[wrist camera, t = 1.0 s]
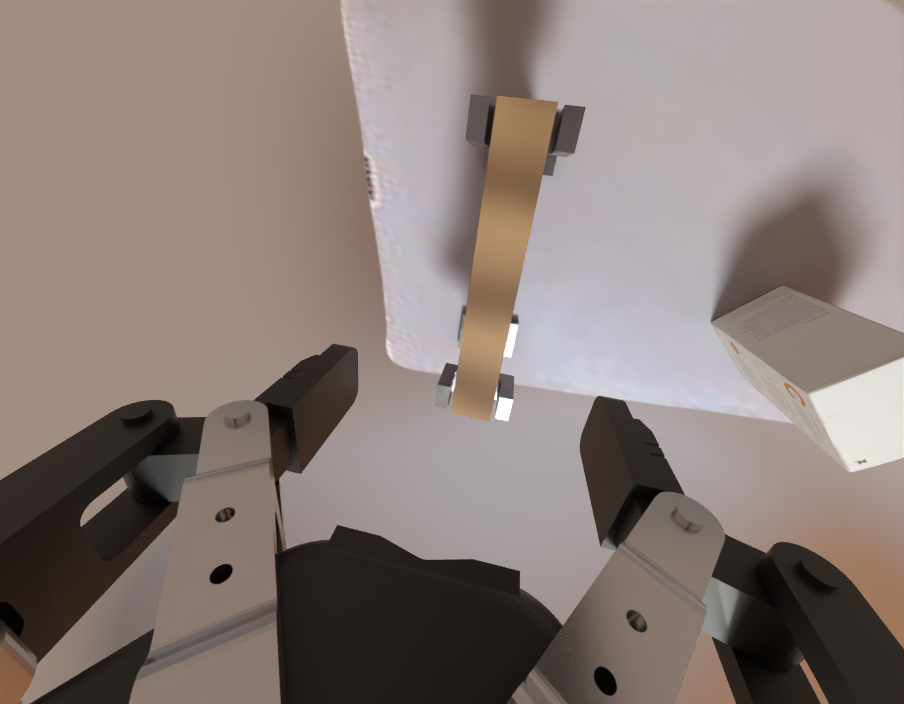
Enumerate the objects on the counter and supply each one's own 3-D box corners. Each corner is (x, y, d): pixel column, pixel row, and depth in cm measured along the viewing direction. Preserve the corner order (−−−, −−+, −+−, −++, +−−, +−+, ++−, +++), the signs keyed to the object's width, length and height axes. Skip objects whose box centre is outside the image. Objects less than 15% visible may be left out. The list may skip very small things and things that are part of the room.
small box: (816, 348, 33) (975, 440, 21) (743, 379, 35) (849, 476, 24) (783, 281, 31) (938, 343, 19) (708, 320, 33) (806, 395, 22)
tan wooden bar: (500, 106, 20) (497, 95, 17) (553, 112, 19) (558, 102, 17) (457, 391, 29) (451, 413, 26) (492, 398, 29) (489, 421, 26)
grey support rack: (492, 113, 29) (471, 69, 17) (563, 122, 28) (594, 82, 16) (459, 343, 39) (432, 415, 27) (511, 353, 39) (506, 431, 27)
